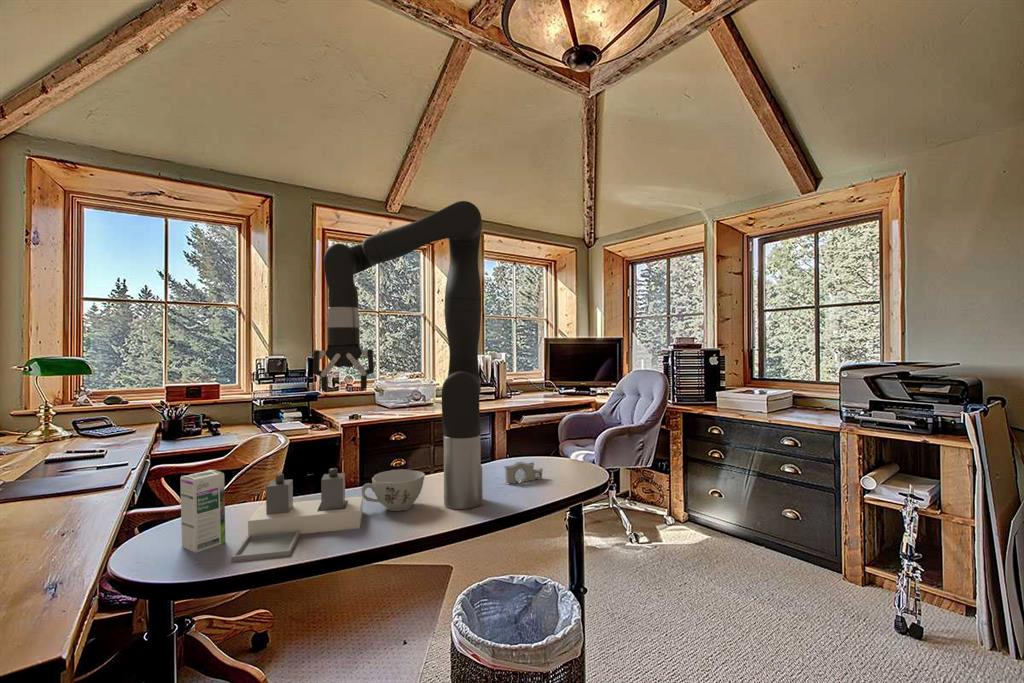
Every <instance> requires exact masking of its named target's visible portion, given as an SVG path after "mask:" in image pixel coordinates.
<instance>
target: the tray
mask: <svg viewBox="0 0 1024 683" xmlns="http://www.w3.org/2000/svg"><path fill="white" fill-rule="evenodd" d="M300 536H301V534H300V530H298V531H288V532H277V533H267V534H256V535H248V534H247V535H246V536H245V538H244V539H243V541H242V542H241V544H240V545H239V546H238V547H237V548H236V550H235V551H234V552H233V553H232V555H231V556H230V562H231V563H233V562H242V561H254V560H262V559H270V558H272V559H273V558H281V557H289V556H291V554H292V553H293V550H294V548H295V545H296V543H297V542H298V540H299V537H300Z"/></svg>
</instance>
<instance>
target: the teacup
mask: <svg viewBox="0 0 1024 683" xmlns="http://www.w3.org/2000/svg"><path fill="white" fill-rule="evenodd" d="M425 476H426V474H425V473H424V472H422V471H419V470H413V469H403V468H401V469H391V470H388V471H387V470H386V471H382V472H381V471H380V472H378V473H377V474H374V476H373V477H371V481H372V482H371V483H370V482H367V483H364V484H363V485H362V487H361V496H363V499H365V501H367V502H373V503H374V502H375V503H378V504H381V505H382V506H383V507H385V508H386V510H388V511H390V512H402V510H403V511H407V510H409V509H410V508H411V507H412V506H413V504H414V503H415V502H416V501H417V499H418V498H419V496H420V494H421V492H422V489H423V486H424V480H425ZM368 488H370V489H371V491H372V492H373V493H374V494H375V496H376V498H373V497H369V496H367V495H366V494H365V492H366V490H367V489H368ZM408 508H409V509H408Z"/></svg>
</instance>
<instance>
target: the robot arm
mask: <svg viewBox="0 0 1024 683" xmlns="http://www.w3.org/2000/svg"><path fill="white" fill-rule="evenodd" d="M482 221H483V220H482V214H481V212H480V210H479V207H477V206H476V205H475V204H474V203H473V202H470V201H467V200H460V201H456V202H453V203H452V204H450V205H448V206H446V207H444V208H442V209H440V210H438V211H436V212H434V213H431V214H430V215H427V216H426V217H423V218H421V219H418V220H416V221H413V222H410V223H407V224H405V225H402V226H398V227H396V228H393V229H389V230H386V231H383V232H382V231H381V232H379V233H376V234H372V235H370V236H367V237H365V238H364V239H363V241H362V242H359V244H356V245H353V246H348V245H346V244H344V243H339V242H338V243H333V244H331V245H330V246H328V247H327V249H326V250H325V252H324V256H323V269H324V275H325V280H326V284H327V289H328V290H327V291H328V293H327V300H328V303H327V304H328V305H327V306H328V308H327V317H326V318H327V320H326V326H327V327H326V328H327V331H326V332H327V348H326V350H319V349H315V350H314V351H313V357H312V358H313V360H312V361H313V362H312V374H313V375H314V376H315V375H316V376H318V377H320V385H321V386H320V388H321V390H322V391H323V392H324V394H325V393H329V377H328V374H329V373H330V372H331V371H332V370H333V368H334V366H335V367H336V368H342V367H345V368H351V367H353V366H354V368H355V369H356V370H357V371H358V373H360V374H361V375H360V391H361V392H364V391H365V389H367V385H368V384H367V381H368V380H367V378H368V376H369V375H371V374H372V373H374V372H375V366H374V352H373V349H372V348H369V349H363V350H362V349H361V343H360V341H361V338H360V334H361V333H360V325H361V324H360V314H359V292H358V289H357V288H358V287H357V286H356V285H355V282H354V281H355V280H354V278H355V277H354V275H356V274H358V273H359V274H360V273H362V272H364V271H366V270H368V269H371V268H372V267H374V266H376V265H378V264H383V263H386V262H390V261H392V260H396V259H399V258H401V257H404V256H407V255H408V254H410V253H412V252H414V251H416V250H418V249H419V248H422V247H424V246H426V245H428V244H431V243H433V242H437V241H440V240H441V241H442V240H445V239H446V240H447V239H448V246H449V247H448V248H449V268H448V273H447V278H446V284H445V290H444V323H445V331H446V335H447V342H448V348H449V360H448V372H447V377H446V379H445V380H444V382H443V383H442V387H441V420H442V421H441V423H442V428H443V505H444V506H445V507H446V508H449V509H454V510H455V509H456V510H466V509H472V508H476V507H478V506H483V504H484V502H483V466H482V464H481V459H482V458H481V419H480V418H481V417H480V395H481V391H482V390H481V389H482V388H481V387H482V386H481V380H480V379H481V378H480V370H479V368H480V367H479V360H478V358H479V357H478V356H479V350H478V348H479V340H480V334H481V333H480V332H481V322H482V321H481V319H482V291H481V290H482V289H481V279H480V278H481V277H480V271H479V252H480V251H479V250H480V241H481V234H482V228H483V222H482ZM362 355H363V356H364V358H365V359H367V361H368V362H367V364H368V368H367V369H365V368H364V367H363V366H362V364H361V363H360V362H359V358H360V357H361V356H362ZM324 356H326V358H327V359H328V360H329V362H328V363H327V365H326V366H325V367H324V369H323V370H321V369H320V366H321V365H320V364H321V363H320V362H321V359H323V358H324Z"/></svg>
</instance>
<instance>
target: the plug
mask: <svg viewBox="0 0 1024 683" xmlns="http://www.w3.org/2000/svg"><path fill="white" fill-rule="evenodd" d="M320 480H321V481H320V485H321V486H320V491H321V496H320V498H321V499H320V500H321V511H329V510H341V509H345V498H346V472H340V473H339V472H338V468H336V467H333V468H329V469H328V473H324V474H323V476H322V477H321V479H320Z"/></svg>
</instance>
